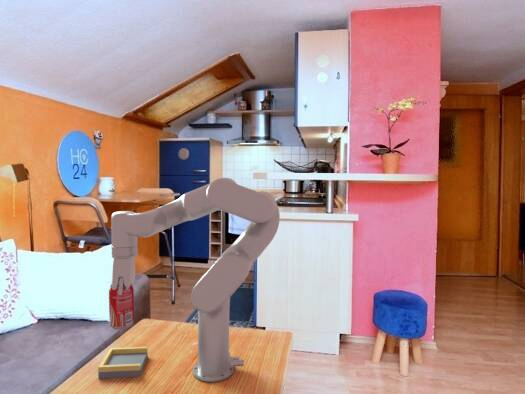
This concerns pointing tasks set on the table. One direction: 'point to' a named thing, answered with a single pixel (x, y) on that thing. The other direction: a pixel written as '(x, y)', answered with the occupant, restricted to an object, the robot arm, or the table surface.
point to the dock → (123, 362)
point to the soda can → (121, 308)
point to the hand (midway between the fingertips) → (125, 308)
